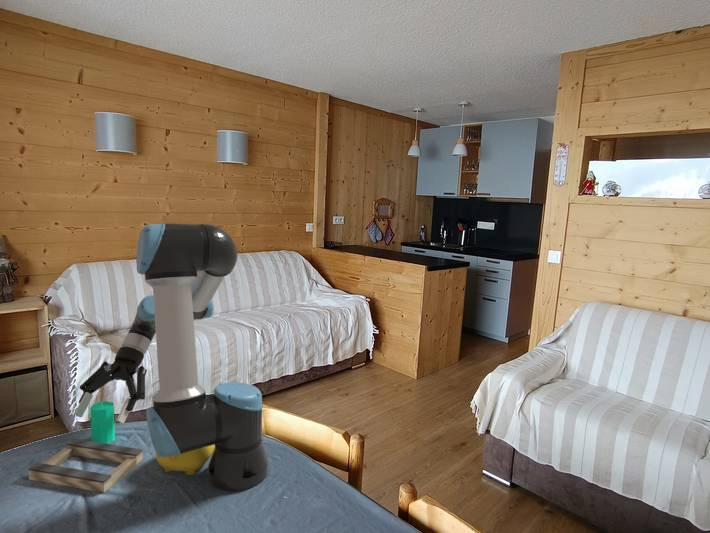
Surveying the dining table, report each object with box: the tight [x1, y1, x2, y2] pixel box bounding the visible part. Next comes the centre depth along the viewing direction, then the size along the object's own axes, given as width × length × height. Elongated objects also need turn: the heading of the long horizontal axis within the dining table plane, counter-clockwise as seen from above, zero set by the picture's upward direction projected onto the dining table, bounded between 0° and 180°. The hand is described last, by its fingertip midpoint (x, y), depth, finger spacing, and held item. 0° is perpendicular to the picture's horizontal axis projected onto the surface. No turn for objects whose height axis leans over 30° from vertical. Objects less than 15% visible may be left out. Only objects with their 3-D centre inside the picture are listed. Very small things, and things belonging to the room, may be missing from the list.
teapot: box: [155, 444, 215, 476], centre depth 117 cm, size 13×20×12 cm
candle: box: [89, 400, 116, 444], centre depth 126 cm, size 6×6×12 cm
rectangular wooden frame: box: [27, 438, 144, 494], centre depth 113 cm, size 21×14×3 cm, turn 79°
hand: (98, 419), depth 125 cm, fingers open, 13 cm apart
